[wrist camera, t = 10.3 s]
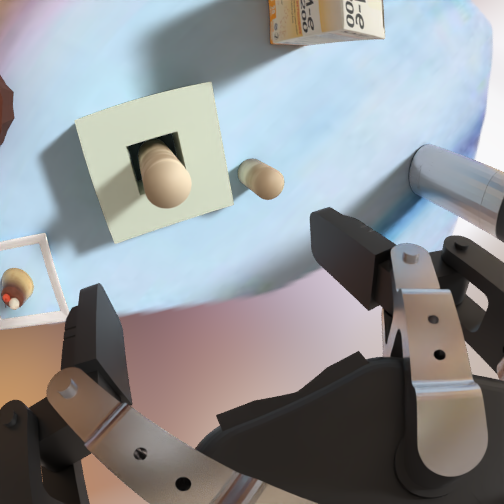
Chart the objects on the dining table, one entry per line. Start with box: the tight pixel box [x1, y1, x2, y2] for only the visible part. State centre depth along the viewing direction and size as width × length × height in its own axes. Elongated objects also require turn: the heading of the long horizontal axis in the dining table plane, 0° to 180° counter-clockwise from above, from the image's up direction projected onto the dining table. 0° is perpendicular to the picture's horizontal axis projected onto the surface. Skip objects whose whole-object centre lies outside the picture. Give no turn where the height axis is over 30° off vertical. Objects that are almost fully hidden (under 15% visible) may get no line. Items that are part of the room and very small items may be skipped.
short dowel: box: [238, 159, 284, 200], centre depth 33 cm, size 3×3×5 cm
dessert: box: [0, 233, 70, 330], centre depth 27 cm, size 12×12×5 cm
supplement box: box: [268, 0, 385, 46], centre depth 21 cm, size 8×5×13 cm, turn 4°
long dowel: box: [138, 139, 192, 209], centre depth 25 cm, size 3×3×12 cm
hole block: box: [75, 82, 234, 244], centre depth 27 cm, size 12×12×5 cm
